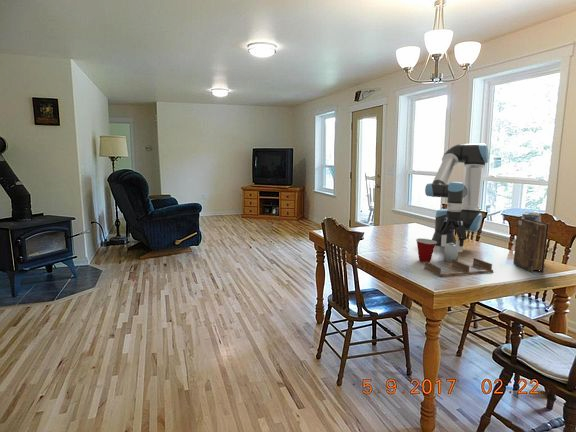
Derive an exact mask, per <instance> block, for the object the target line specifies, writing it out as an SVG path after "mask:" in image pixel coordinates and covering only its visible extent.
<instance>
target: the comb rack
mask: <svg viewBox="0 0 576 432" xmlns="http://www.w3.org/2000/svg"><path fill="white" fill-rule="evenodd" d="M472 266H474V267H476V266H477V267H476V268H479V269H478V270H470V265H468V264H466V263H464V262H462V261H459V260H458V261H457V260H454V259H452V262H451V267H452V268H454V269H455V270H458V271H456V272H452V271H451V272H445V273H441V272H442V268H441V267H440V266H437V265H436V264H434V263H431V262H427V261H426V262H425V263H424V270H426V271H428V272H430V273H431V274H433V275H436V276H437V277H439V278H443V277H444V278H445V276H447V277H457V276H456V275H458V276H466V275H465V274H469V275H478V274H477V273H481V274H488V272H492V273H494V269H493V268H492V267H493V264H492V263H491V262H488V261H485V260H482V259H480V258H478V257H473V261H472ZM481 268H482V269H481ZM484 269H485V270H484Z"/></svg>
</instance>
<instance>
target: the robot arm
mask: <svg viewBox="0 0 576 432" xmlns="http://www.w3.org/2000/svg"><path fill="white" fill-rule="evenodd" d="M489 155H490V154H489V148H488V145H487V144H486V143H459V144H455V145H453V146H451V147H450V148H449V149H447V150H446V152H444V154H443V155H442V157H441V164H440V166H439V168H438V170H437V172H436V174H435V177H434V178H433V181H432V183H427V184H426V185H425V188H424V193H425V195H426V196H427V197H430V198H431V197H432V198H447V201H446V202H447V203H446V204H447V205H446V208H443V209H440V208H439V209H437V210H436V212H435V219H434V232H433V236H432V238H431V240H433V241H436V242H437V243H436V245H435V246H438V247H443V248H445V244H446V243H454V244H457V252H458V253H462V252H463V247H464V241H465V240H467V241H468V236H467V233H466V232H478V231H479V229H480V227H481V225H482V220H483V213H482V212H481V209H479V198H480V189H481V188H480V187H481V179H482V170H483V168H485V165H486V164H488V163H489V158H490V157H489ZM458 163H459V164H461V163H462V164H463V166H464V167H465V178H464V182H461V181H449V179H450V177H451V176H452V173H453V170H454V168H455V166H456V165H458ZM448 181H449V183H448ZM447 183H448V184H447ZM455 233H456V236H457V238H458V239H457V238H456V236H455Z"/></svg>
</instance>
